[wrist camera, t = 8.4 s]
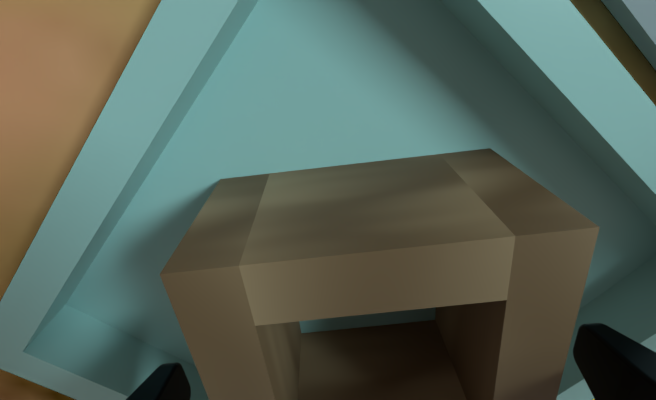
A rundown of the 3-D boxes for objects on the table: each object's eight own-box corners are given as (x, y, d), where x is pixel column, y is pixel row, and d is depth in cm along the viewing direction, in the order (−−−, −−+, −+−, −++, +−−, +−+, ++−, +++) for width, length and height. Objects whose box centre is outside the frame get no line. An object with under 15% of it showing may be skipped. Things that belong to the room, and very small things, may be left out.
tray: (702, 228, 11) (794, 277, 9) (376, 457, 16) (385, 524, 14) (322, -198, 7) (323, -302, 5) (35, 295, 12) (-30, 356, 10)
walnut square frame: (489, 147, 9) (599, 227, 6) (469, 380, 13) (526, 515, 9) (220, 179, 9) (159, 274, 6) (278, 398, 13) (263, 537, 10)
